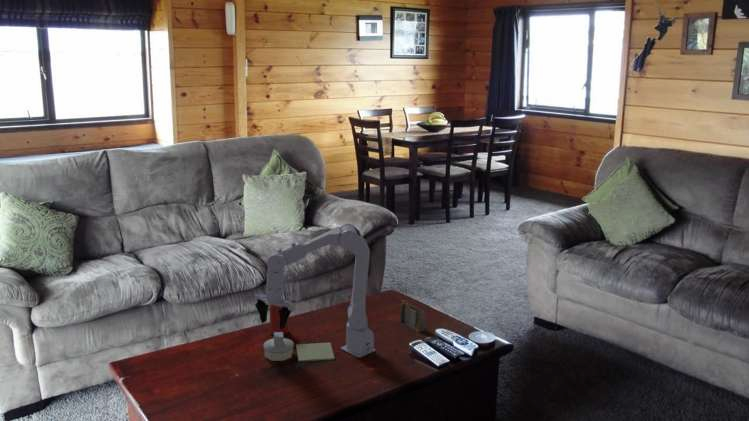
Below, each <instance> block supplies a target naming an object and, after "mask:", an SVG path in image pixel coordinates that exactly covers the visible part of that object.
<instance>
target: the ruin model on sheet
mask: <svg viewBox="0 0 749 421" xmlns="http://www.w3.org/2000/svg"><path fill="white" fill-rule="evenodd" d="M401 302H402V303H401V304H400V306H401V307H400V322H401V323H402V321H403V324H404V325H406V326H407V327H409V328H411V329H412V328H413V329H412V330H414V331H416V332H417V331H418V332H417V333H421V332H425V325H426V322H425V321H426V312H425V311H423V310H421V309H419V308H418V307H415V306H414V305H411V304H410V303H409V302H408V301H407V300H403V299H401Z"/></svg>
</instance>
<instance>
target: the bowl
mask: <svg viewBox="0 0 749 421" xmlns="http://www.w3.org/2000/svg"><path fill="white" fill-rule="evenodd" d="M293 353H294V348H293V349H291V350H290V351H288V352H284V353H271V352H268V351H266V350H265V349H264V358H266V359H268V360H270V361H271V362H272V361H273V362H274V361H275V362H276V361H280V362H283V361H286V360H289V359H291V358H292V356H293Z"/></svg>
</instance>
